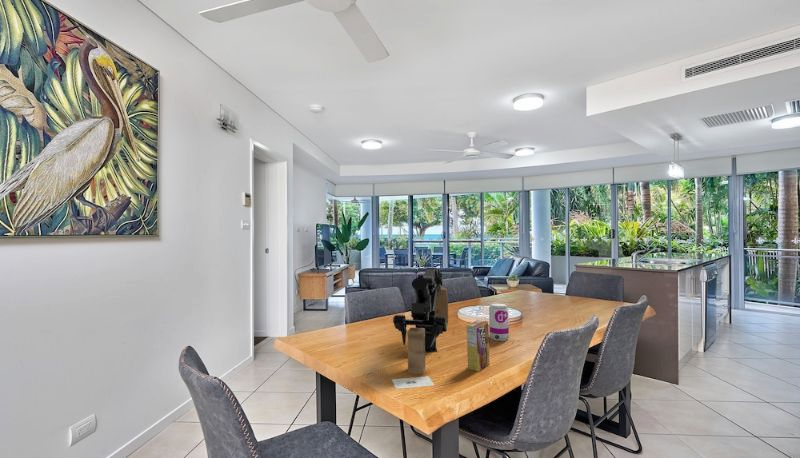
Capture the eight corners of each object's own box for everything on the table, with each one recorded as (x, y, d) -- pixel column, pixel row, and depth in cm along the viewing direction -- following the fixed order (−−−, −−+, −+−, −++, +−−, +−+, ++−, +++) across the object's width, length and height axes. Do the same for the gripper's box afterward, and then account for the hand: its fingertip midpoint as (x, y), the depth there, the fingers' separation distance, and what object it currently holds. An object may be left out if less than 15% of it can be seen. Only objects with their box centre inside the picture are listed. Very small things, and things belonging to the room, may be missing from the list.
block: (449, 329, 169) (449, 288, 170) (435, 330, 168) (434, 289, 168) (441, 323, 180) (440, 285, 180) (427, 325, 178) (427, 286, 178)
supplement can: (511, 341, 149) (510, 306, 150) (492, 341, 149) (491, 306, 150) (505, 336, 157) (505, 302, 158) (487, 336, 157) (487, 303, 158)
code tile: (428, 377, 112) (428, 376, 112) (434, 386, 105) (434, 385, 105) (391, 380, 109) (391, 379, 109) (395, 389, 103) (395, 388, 103)
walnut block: (410, 368, 120) (410, 327, 120) (425, 369, 118) (424, 328, 119) (408, 373, 115) (407, 331, 115) (423, 375, 114) (422, 332, 114)
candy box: (478, 362, 125) (478, 319, 125) (489, 364, 122) (489, 321, 123) (466, 369, 118) (466, 324, 119) (478, 372, 116) (477, 326, 116)
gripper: (393, 292, 125) (386, 331, 114) (445, 294, 121) (442, 335, 110) (399, 309, 133) (392, 347, 122) (448, 311, 128) (445, 351, 118)
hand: (417, 345), depth 118 cm, fingers open, 9 cm apart
